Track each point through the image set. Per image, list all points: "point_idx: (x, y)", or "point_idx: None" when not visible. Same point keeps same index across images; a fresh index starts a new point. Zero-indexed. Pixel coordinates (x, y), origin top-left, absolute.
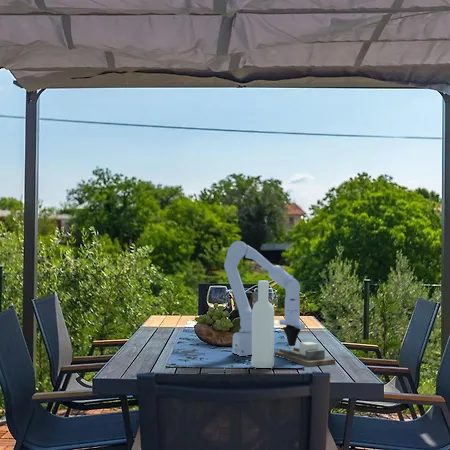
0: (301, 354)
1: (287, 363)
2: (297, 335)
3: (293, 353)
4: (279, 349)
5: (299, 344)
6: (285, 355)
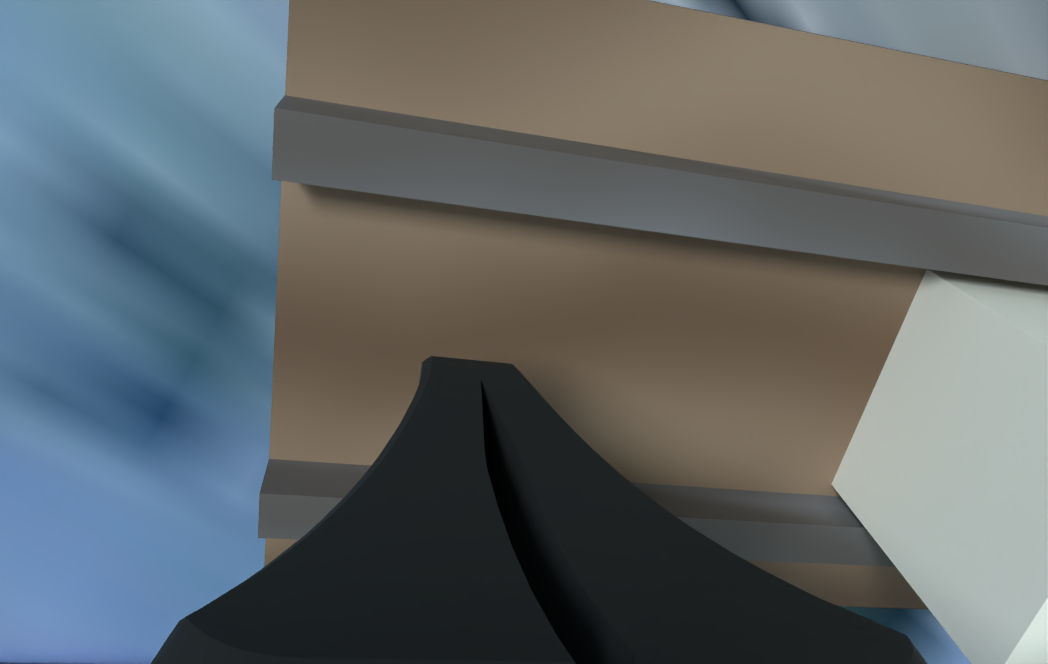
0: None
1: None
2: (663, 525)
3: (750, 553)
4: (273, 529)
5: (970, 651)
6: None
